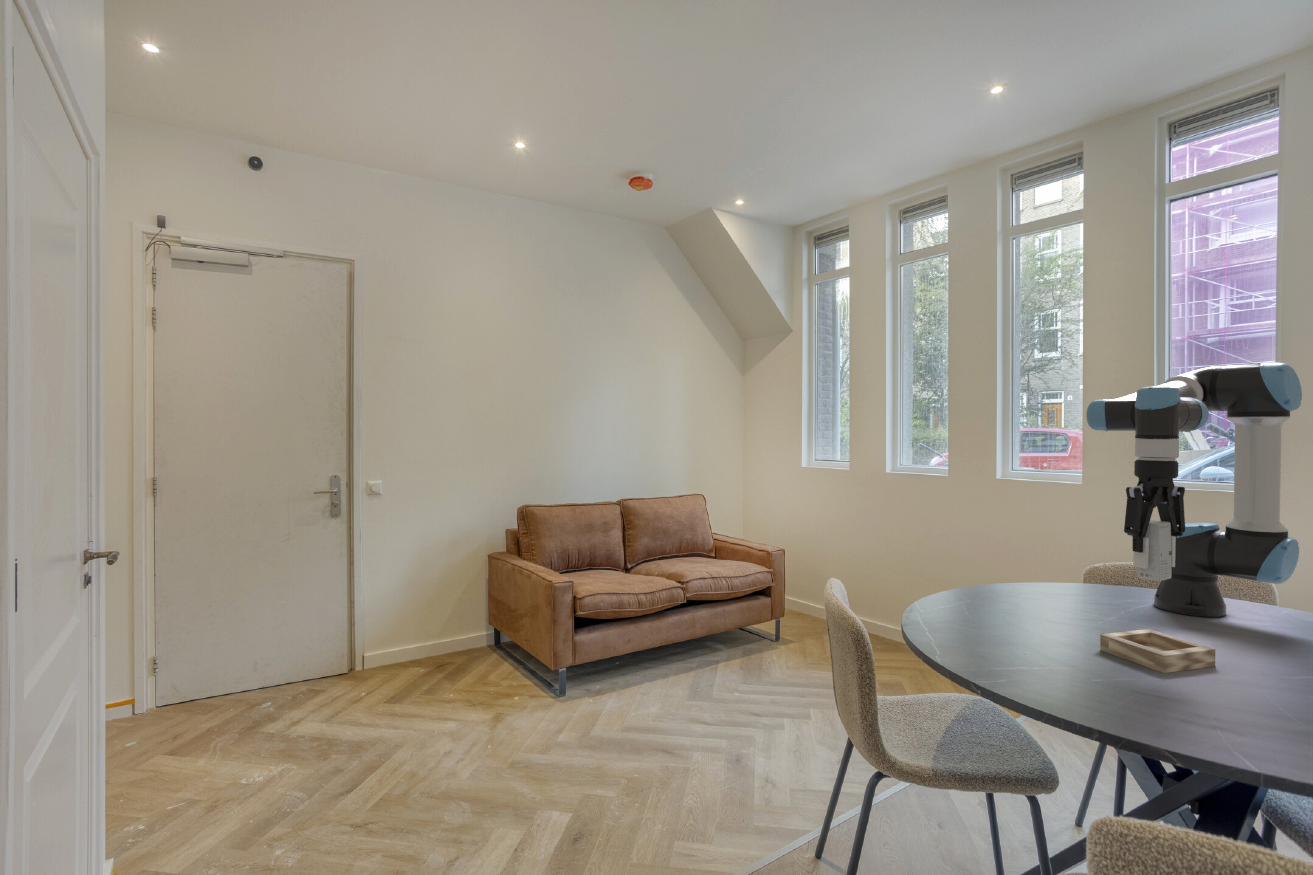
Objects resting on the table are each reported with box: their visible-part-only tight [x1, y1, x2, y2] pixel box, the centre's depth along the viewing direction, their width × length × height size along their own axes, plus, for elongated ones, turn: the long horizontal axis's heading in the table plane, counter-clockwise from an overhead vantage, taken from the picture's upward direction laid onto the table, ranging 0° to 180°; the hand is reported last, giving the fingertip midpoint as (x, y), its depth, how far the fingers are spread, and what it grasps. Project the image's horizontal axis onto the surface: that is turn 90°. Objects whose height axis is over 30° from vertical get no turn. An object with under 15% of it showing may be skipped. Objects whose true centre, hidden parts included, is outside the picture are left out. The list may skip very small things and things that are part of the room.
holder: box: [1099, 628, 1216, 674], centre depth 142 cm, size 14×14×4 cm
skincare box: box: [1136, 519, 1171, 582], centre depth 142 cm, size 6×4×12 cm
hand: (1154, 566), depth 142 cm, fingers closed on skincare box, 7 cm apart
